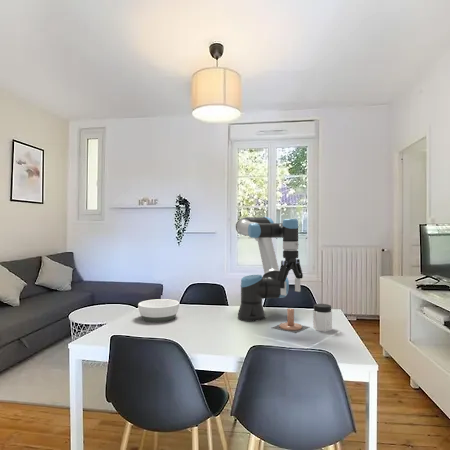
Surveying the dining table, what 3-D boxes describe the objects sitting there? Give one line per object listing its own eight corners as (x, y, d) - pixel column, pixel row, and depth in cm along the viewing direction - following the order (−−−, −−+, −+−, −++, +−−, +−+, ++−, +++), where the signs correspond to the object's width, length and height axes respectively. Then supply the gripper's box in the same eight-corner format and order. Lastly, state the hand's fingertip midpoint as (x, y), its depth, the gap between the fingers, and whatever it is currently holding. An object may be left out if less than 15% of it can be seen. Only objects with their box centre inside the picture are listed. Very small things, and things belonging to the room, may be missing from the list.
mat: (270, 329, 177) (270, 327, 177) (285, 323, 187) (285, 322, 187) (296, 334, 167) (296, 333, 167) (310, 328, 178) (310, 327, 178)
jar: (322, 333, 169) (322, 308, 169) (309, 329, 176) (309, 304, 176) (335, 330, 174) (335, 305, 174) (322, 326, 181) (322, 302, 181)
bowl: (129, 321, 192) (129, 305, 192) (153, 312, 213) (153, 297, 213) (165, 325, 184) (165, 309, 184) (186, 315, 205) (186, 300, 205)
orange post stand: (275, 327, 177) (275, 309, 177) (286, 323, 185) (286, 305, 185) (294, 331, 170) (294, 312, 170) (306, 327, 178) (306, 308, 178)
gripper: (283, 251, 166) (284, 297, 165) (309, 249, 185) (309, 290, 184) (270, 250, 171) (270, 295, 170) (296, 248, 190) (296, 289, 189)
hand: (290, 293), depth 177 cm, fingers open, 13 cm apart
